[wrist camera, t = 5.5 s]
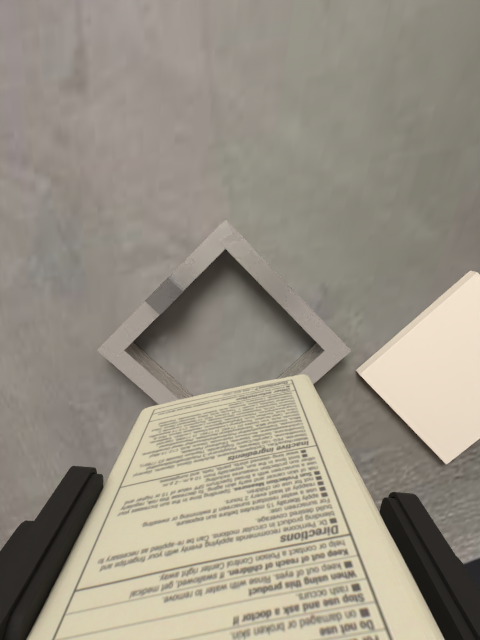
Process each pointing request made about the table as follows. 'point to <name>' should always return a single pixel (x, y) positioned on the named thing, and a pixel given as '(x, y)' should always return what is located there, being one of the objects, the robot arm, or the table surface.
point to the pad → (436, 370)
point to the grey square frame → (223, 237)
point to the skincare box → (236, 532)
